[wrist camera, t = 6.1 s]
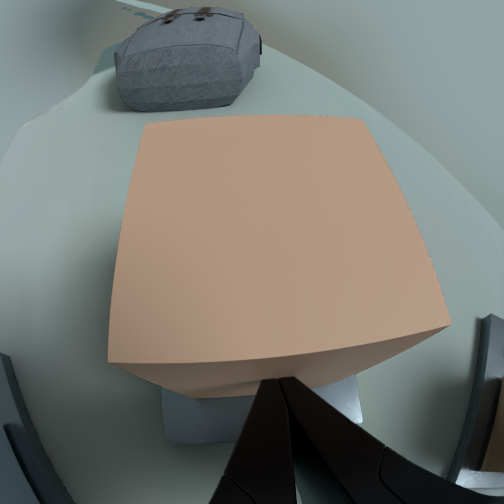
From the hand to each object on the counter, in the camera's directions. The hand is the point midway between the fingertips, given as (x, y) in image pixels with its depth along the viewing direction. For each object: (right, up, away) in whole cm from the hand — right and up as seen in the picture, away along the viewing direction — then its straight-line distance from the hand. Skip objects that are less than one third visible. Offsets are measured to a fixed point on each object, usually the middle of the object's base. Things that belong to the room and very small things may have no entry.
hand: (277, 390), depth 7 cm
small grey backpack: (-7, +24, +23) cm, 34 cm away
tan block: (0, 0, +6) cm, 7 cm away
